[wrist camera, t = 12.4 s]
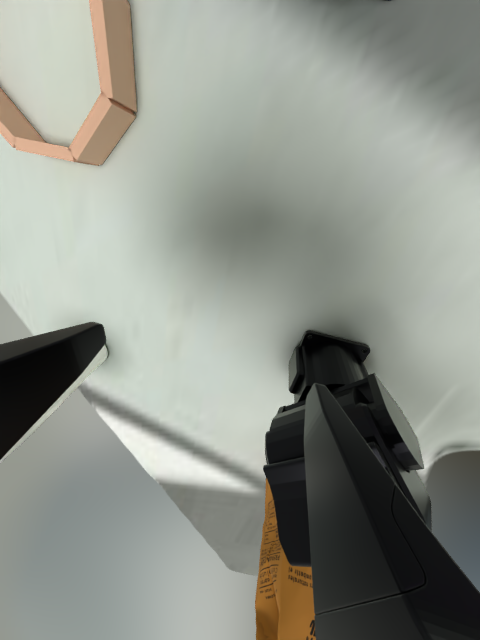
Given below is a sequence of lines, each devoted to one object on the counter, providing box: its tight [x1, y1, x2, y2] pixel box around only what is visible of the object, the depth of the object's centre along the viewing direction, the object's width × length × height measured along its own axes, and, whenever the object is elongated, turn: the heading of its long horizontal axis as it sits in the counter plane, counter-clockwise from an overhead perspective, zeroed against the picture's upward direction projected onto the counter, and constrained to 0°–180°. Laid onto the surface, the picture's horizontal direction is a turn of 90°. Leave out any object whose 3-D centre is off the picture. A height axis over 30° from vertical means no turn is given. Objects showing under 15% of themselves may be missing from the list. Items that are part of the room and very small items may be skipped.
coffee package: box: [255, 478, 316, 640], centre depth 26 cm, size 10×12×22 cm
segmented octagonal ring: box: [0, 0, 137, 166], centre depth 14 cm, size 13×13×2 cm
